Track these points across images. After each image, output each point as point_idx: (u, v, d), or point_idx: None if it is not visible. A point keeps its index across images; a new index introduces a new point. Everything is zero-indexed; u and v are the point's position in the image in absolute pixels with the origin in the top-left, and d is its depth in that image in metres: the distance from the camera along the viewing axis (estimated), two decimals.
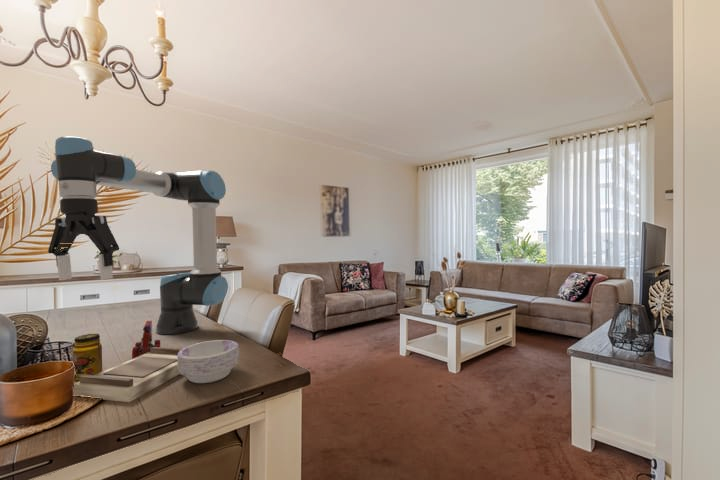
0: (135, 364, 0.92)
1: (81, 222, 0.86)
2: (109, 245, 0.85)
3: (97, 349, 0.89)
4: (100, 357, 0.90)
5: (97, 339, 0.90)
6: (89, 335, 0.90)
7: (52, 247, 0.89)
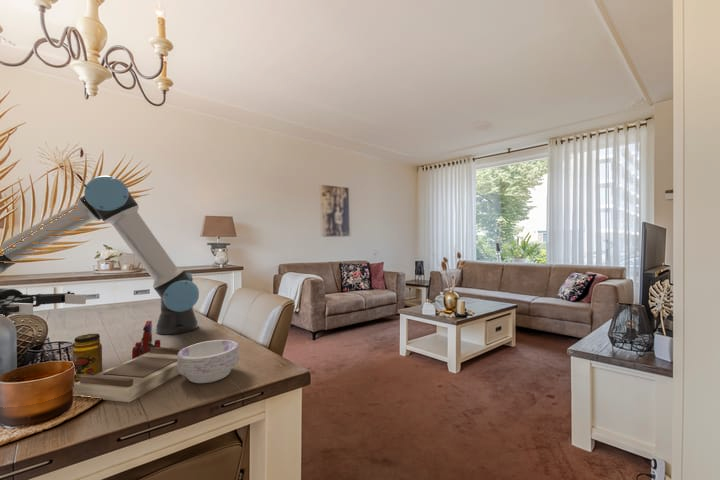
0: (135, 364, 0.92)
1: None
2: None
3: (97, 349, 0.89)
4: (100, 357, 0.90)
5: (97, 339, 0.90)
6: (89, 335, 0.90)
7: None
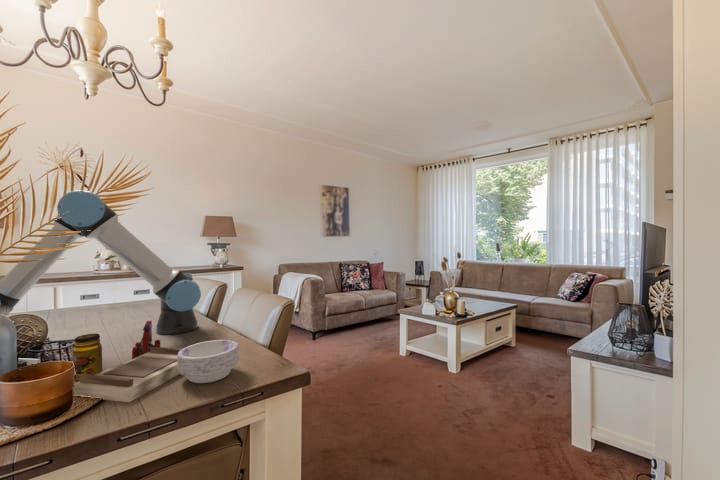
0: (135, 364, 0.92)
1: None
2: None
3: (97, 349, 0.89)
4: (100, 357, 0.90)
5: (97, 339, 0.90)
6: (89, 335, 0.90)
7: None
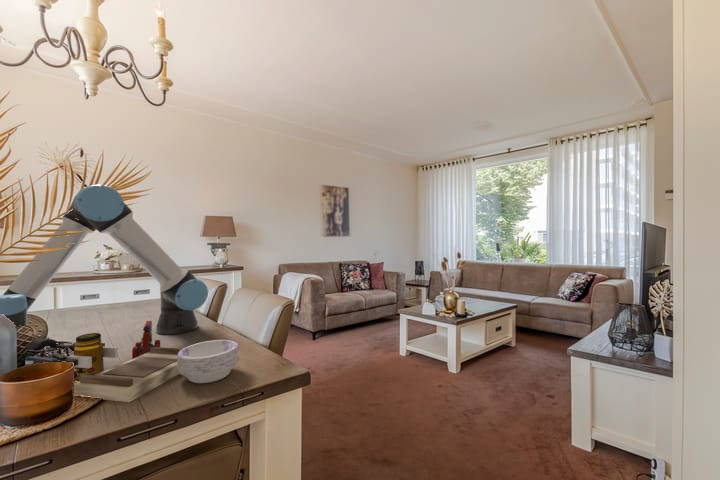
0: (135, 364, 0.92)
1: None
2: None
3: (99, 348, 0.90)
4: (101, 356, 0.91)
5: (98, 338, 0.90)
6: (90, 334, 0.91)
7: None
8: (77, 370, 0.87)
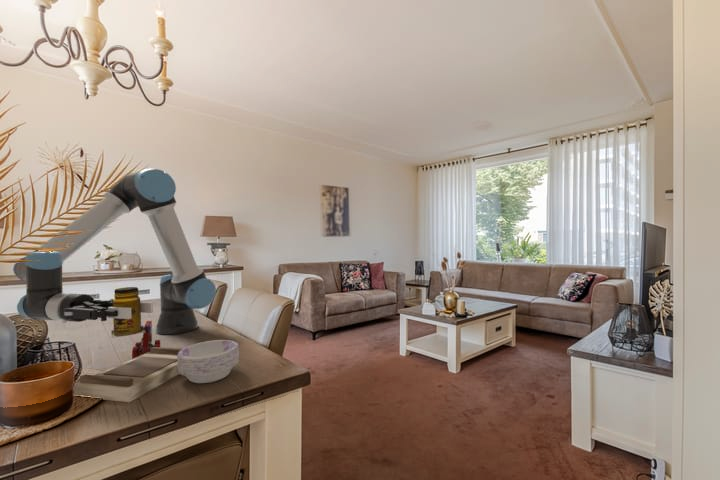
0: (135, 364, 0.92)
1: None
2: (90, 319, 0.84)
3: (137, 301, 0.89)
4: (139, 310, 0.90)
5: (136, 291, 0.90)
6: (128, 288, 0.90)
7: None
8: (116, 322, 0.87)
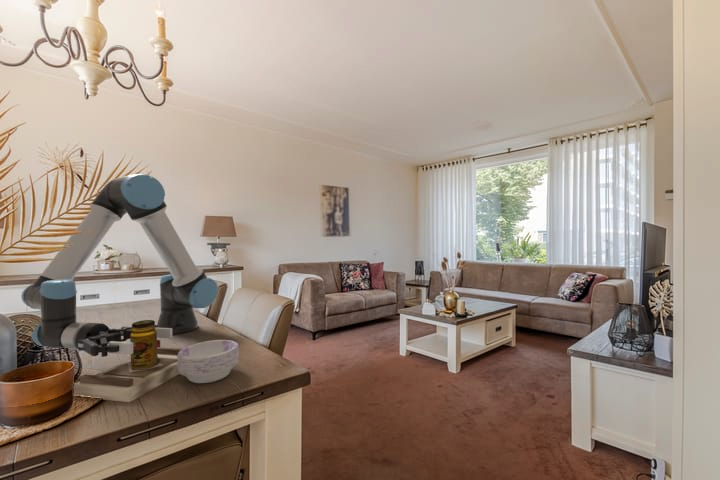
0: None
1: None
2: (91, 354, 0.82)
3: (154, 335, 0.90)
4: (156, 343, 0.91)
5: (153, 325, 0.91)
6: (145, 321, 0.91)
7: None
8: (134, 356, 0.88)
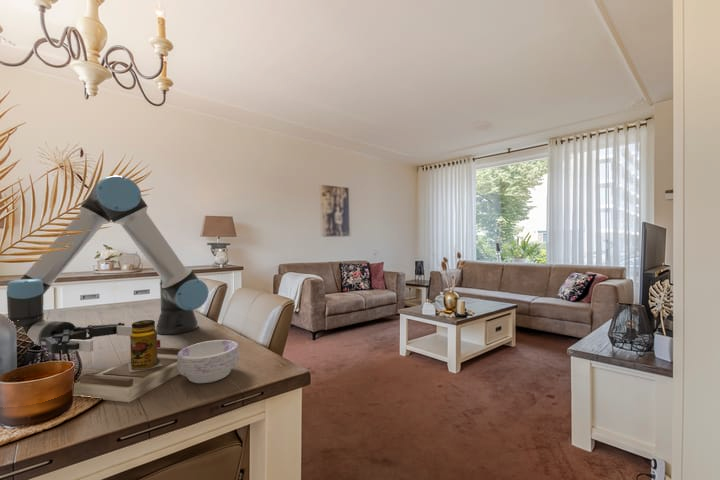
0: None
1: None
2: (51, 352, 0.84)
3: (154, 335, 0.90)
4: (156, 343, 0.91)
5: (153, 325, 0.91)
6: (145, 321, 0.91)
7: None
8: (134, 356, 0.88)
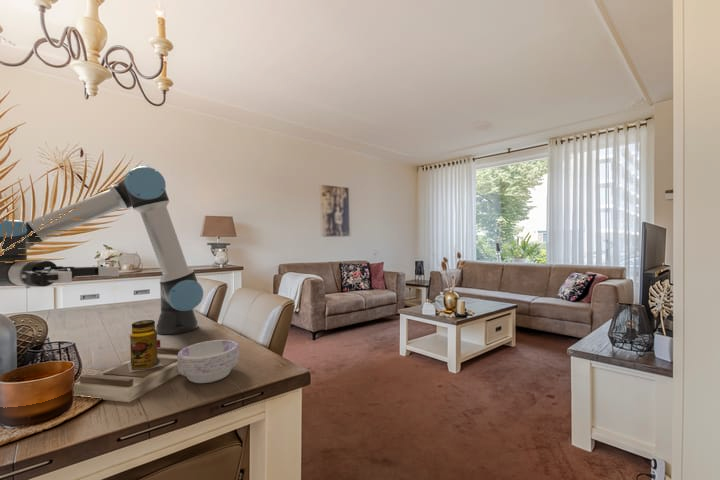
0: None
1: None
2: (30, 282, 0.86)
3: (154, 335, 0.90)
4: (156, 343, 0.91)
5: (153, 325, 0.91)
6: (145, 321, 0.91)
7: None
8: (134, 356, 0.88)
